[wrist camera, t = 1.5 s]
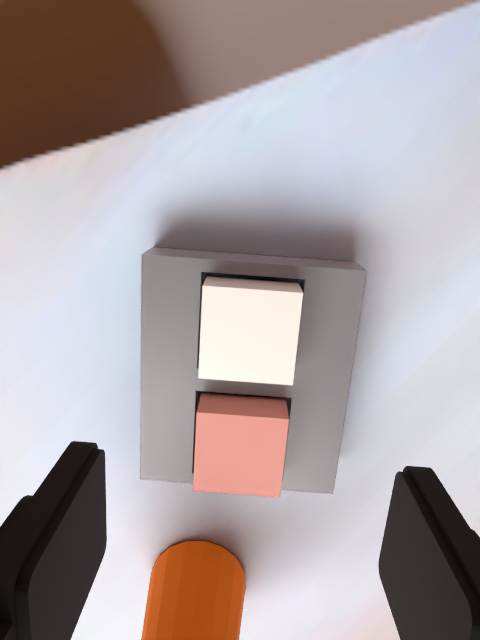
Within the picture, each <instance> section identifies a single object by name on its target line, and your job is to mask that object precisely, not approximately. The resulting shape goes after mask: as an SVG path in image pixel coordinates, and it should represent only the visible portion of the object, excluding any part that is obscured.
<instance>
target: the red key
mask: <svg viewBox="0 0 480 640" xmlns="http://www.w3.org/2000/svg"><path fill="white" fill-rule="evenodd" d="M288 424H289V416H288V410H287V403H286V399H278V398H265V397H252V396H238V395H225V394H211V393H201V396H200V401H199V405H198V409H197V415H196V437H195V458H194V480H193V491H203V492H216V493H229V494H242V495H256V496H269V497H280V495H281V486H282V477H283V469H284V460H285V451H286V442H287V433H288Z"/></svg>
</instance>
